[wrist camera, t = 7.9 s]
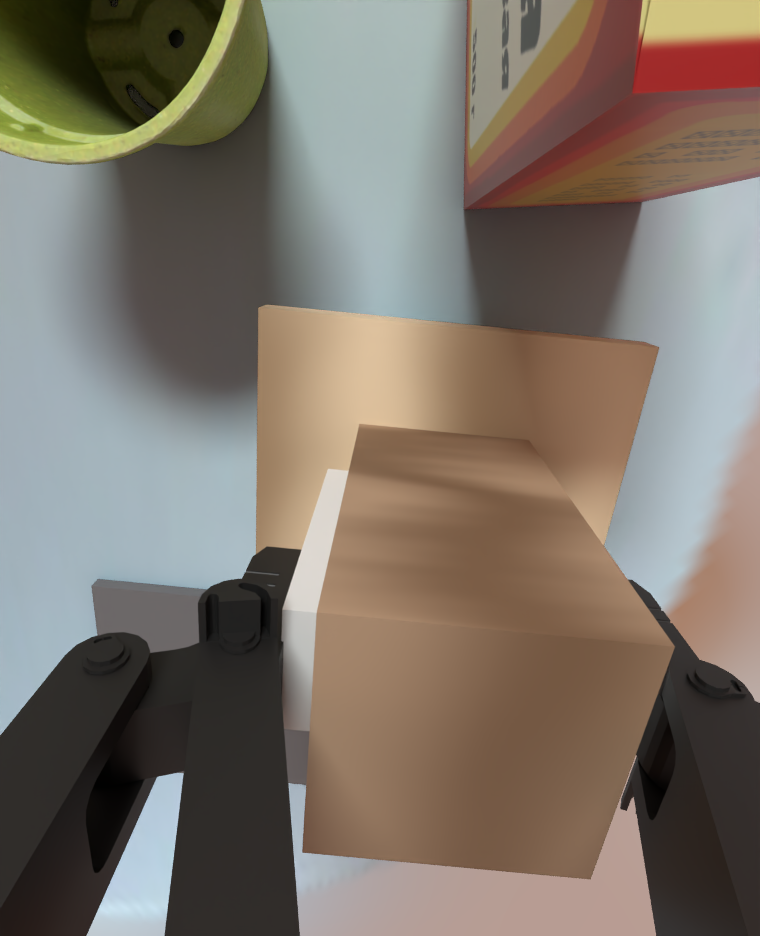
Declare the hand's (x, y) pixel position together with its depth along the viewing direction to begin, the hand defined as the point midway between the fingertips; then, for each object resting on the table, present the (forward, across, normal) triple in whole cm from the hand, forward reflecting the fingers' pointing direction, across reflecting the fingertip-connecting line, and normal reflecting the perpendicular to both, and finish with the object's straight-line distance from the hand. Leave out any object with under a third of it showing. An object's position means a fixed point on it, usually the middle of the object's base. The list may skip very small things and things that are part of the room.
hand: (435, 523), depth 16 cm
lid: (+2, 0, 0) cm, 2 cm away
